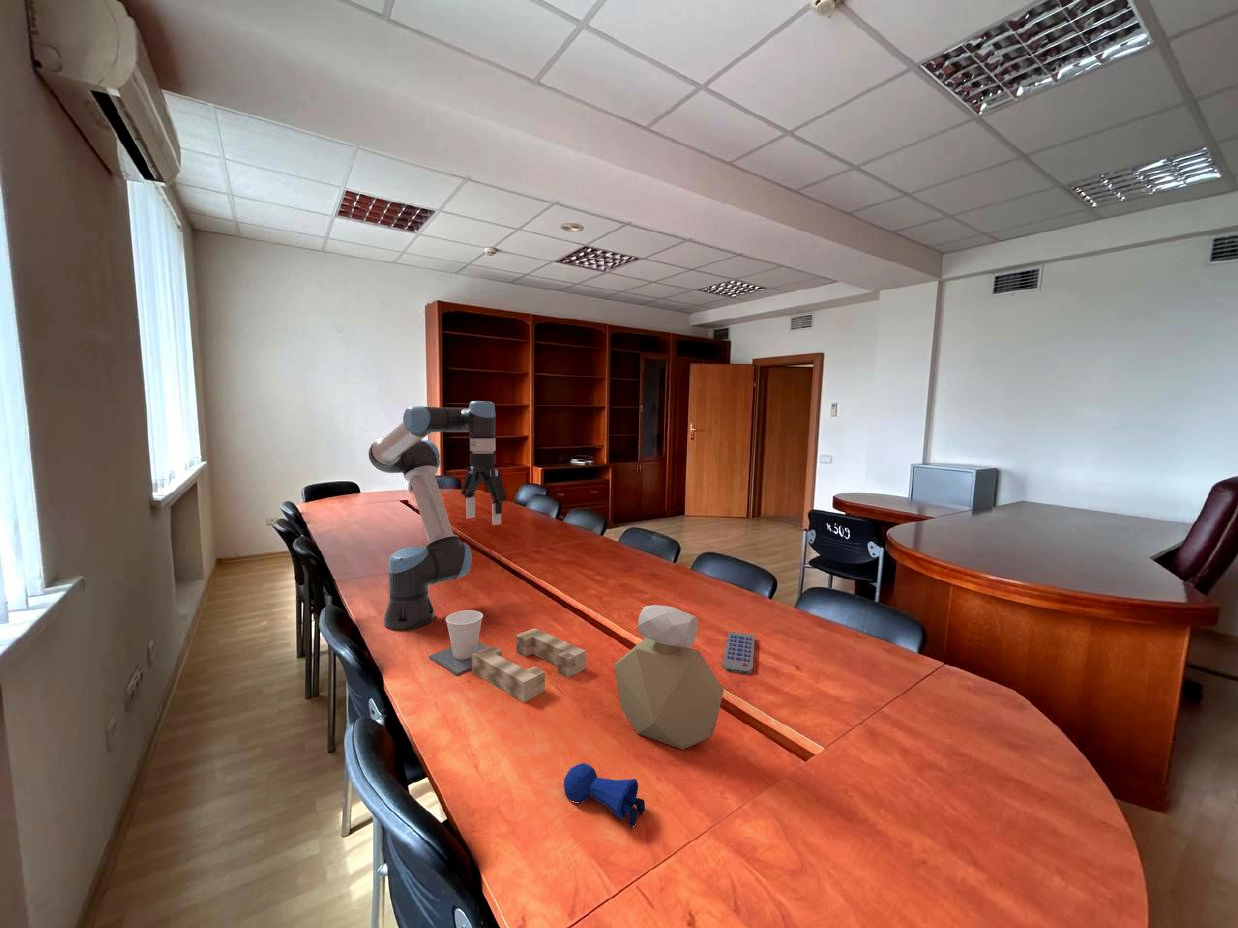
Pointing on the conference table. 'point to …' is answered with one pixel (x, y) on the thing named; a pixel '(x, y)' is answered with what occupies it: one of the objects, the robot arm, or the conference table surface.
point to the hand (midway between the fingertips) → (483, 521)
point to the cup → (464, 632)
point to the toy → (604, 791)
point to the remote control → (739, 653)
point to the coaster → (454, 660)
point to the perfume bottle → (668, 680)
